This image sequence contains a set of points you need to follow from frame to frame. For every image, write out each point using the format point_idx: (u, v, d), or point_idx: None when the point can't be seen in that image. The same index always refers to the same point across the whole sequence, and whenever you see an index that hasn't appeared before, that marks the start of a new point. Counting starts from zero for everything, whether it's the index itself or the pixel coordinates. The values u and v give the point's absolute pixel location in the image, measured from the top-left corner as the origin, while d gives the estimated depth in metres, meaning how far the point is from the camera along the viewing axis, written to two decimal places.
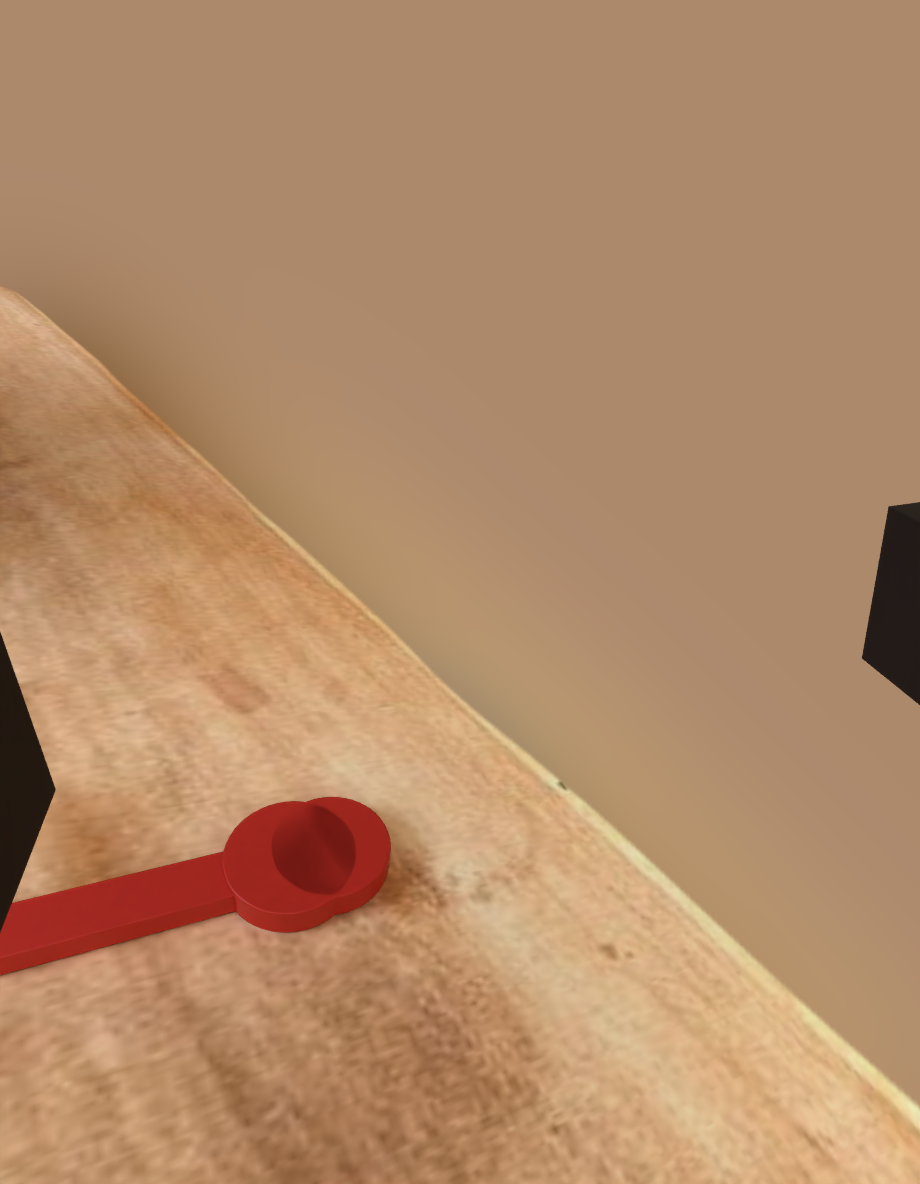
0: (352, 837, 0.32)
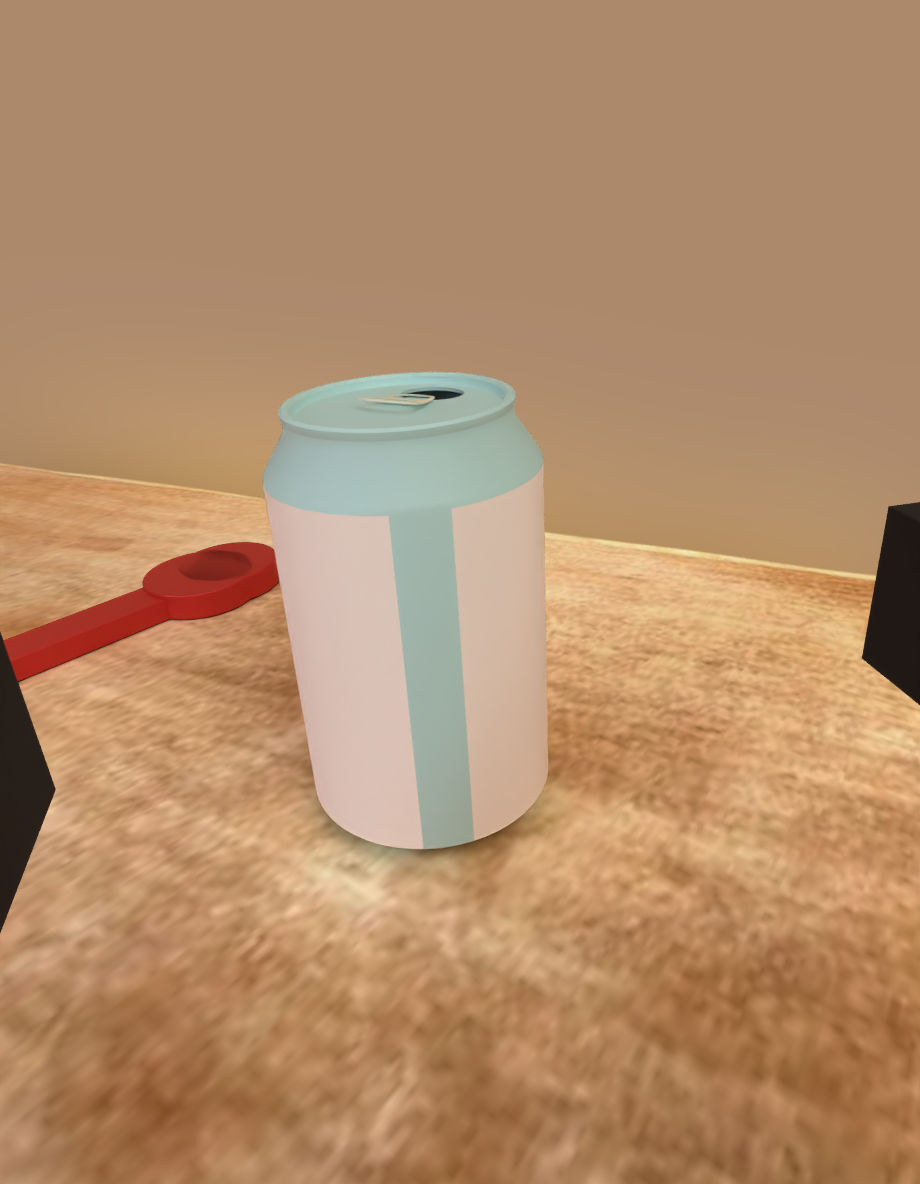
0: (242, 554, 0.40)
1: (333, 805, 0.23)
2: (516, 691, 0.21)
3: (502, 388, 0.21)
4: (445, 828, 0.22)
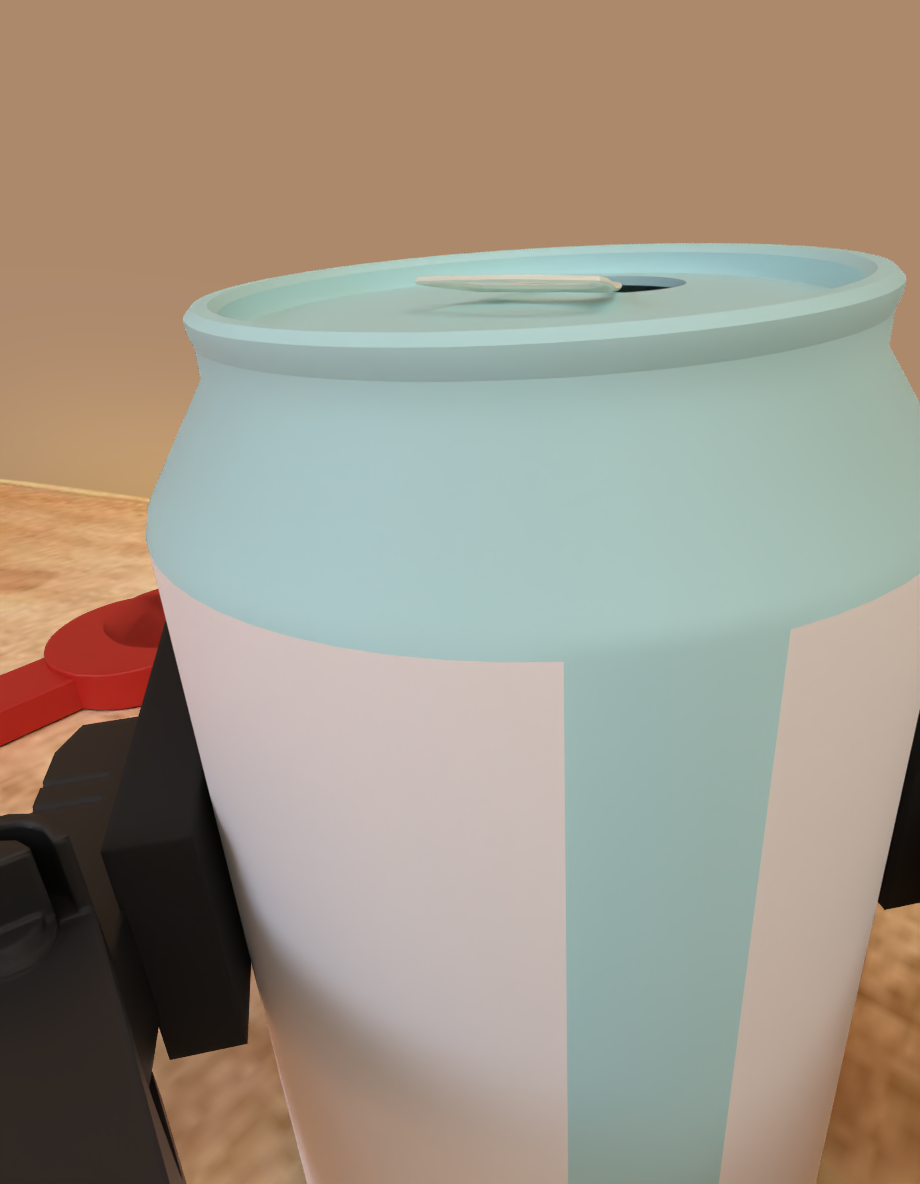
0: None
1: None
2: (831, 1067, 0.08)
3: (809, 256, 0.08)
4: None
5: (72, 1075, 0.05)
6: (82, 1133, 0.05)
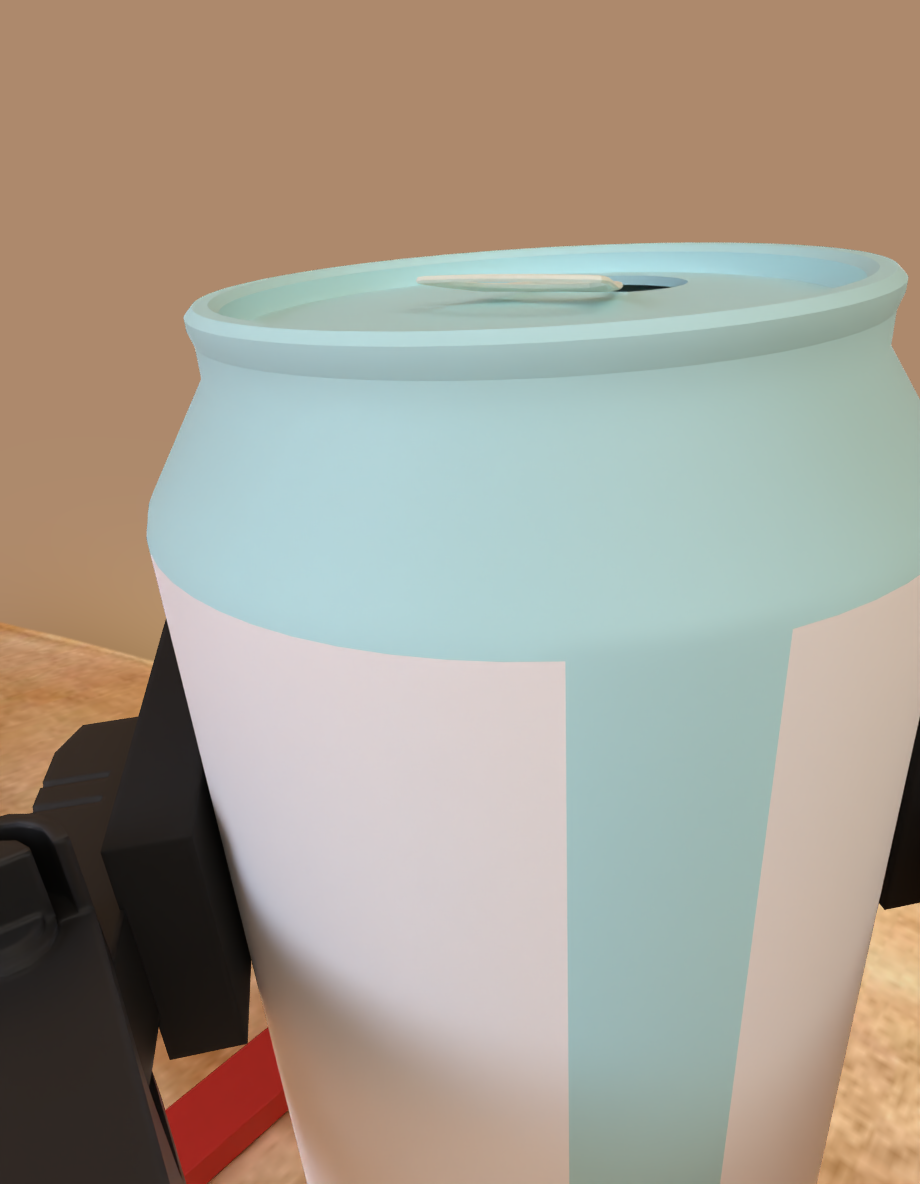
0: None
1: None
2: (832, 1067, 0.08)
3: (810, 256, 0.08)
4: None
5: (72, 1075, 0.05)
6: (82, 1133, 0.05)
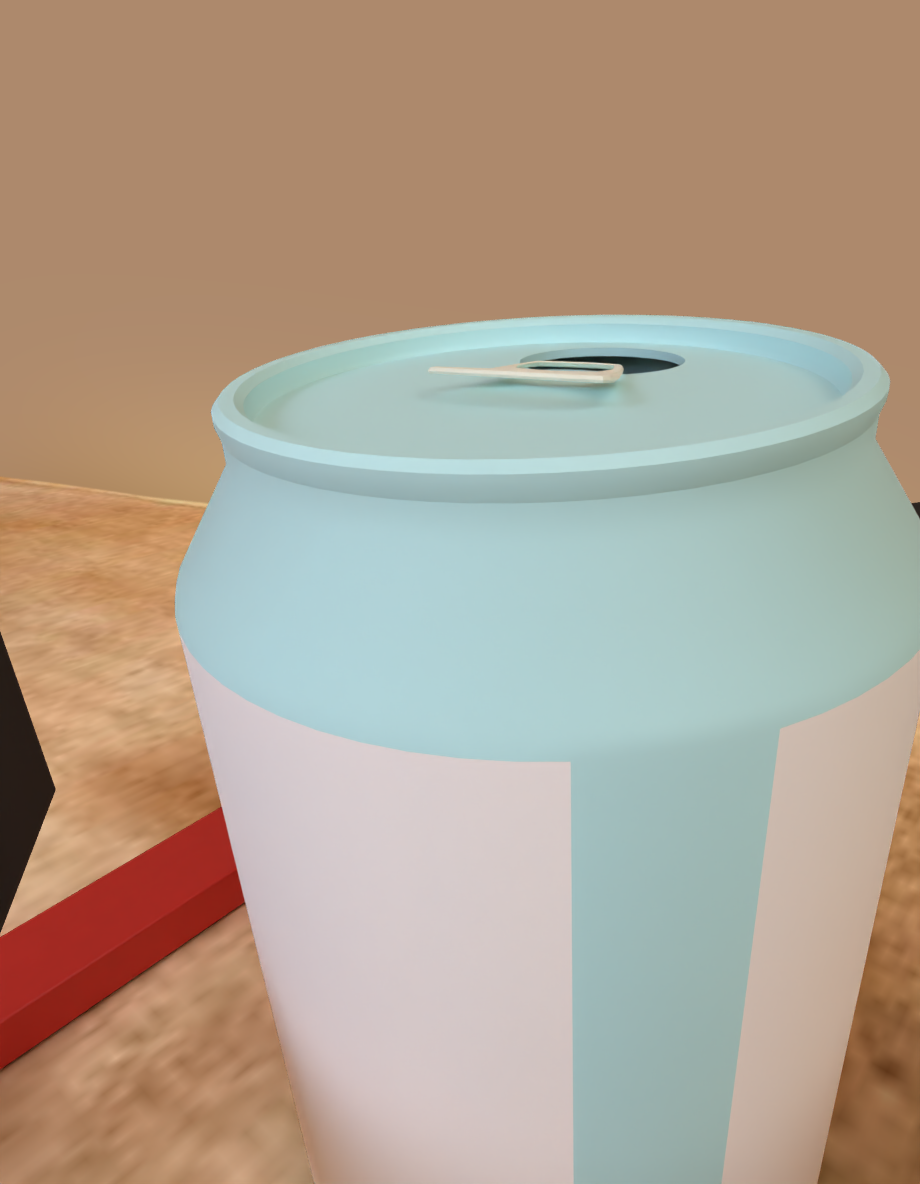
0: None
1: None
2: (824, 1108, 0.08)
3: (801, 341, 0.08)
4: None
5: None
6: None
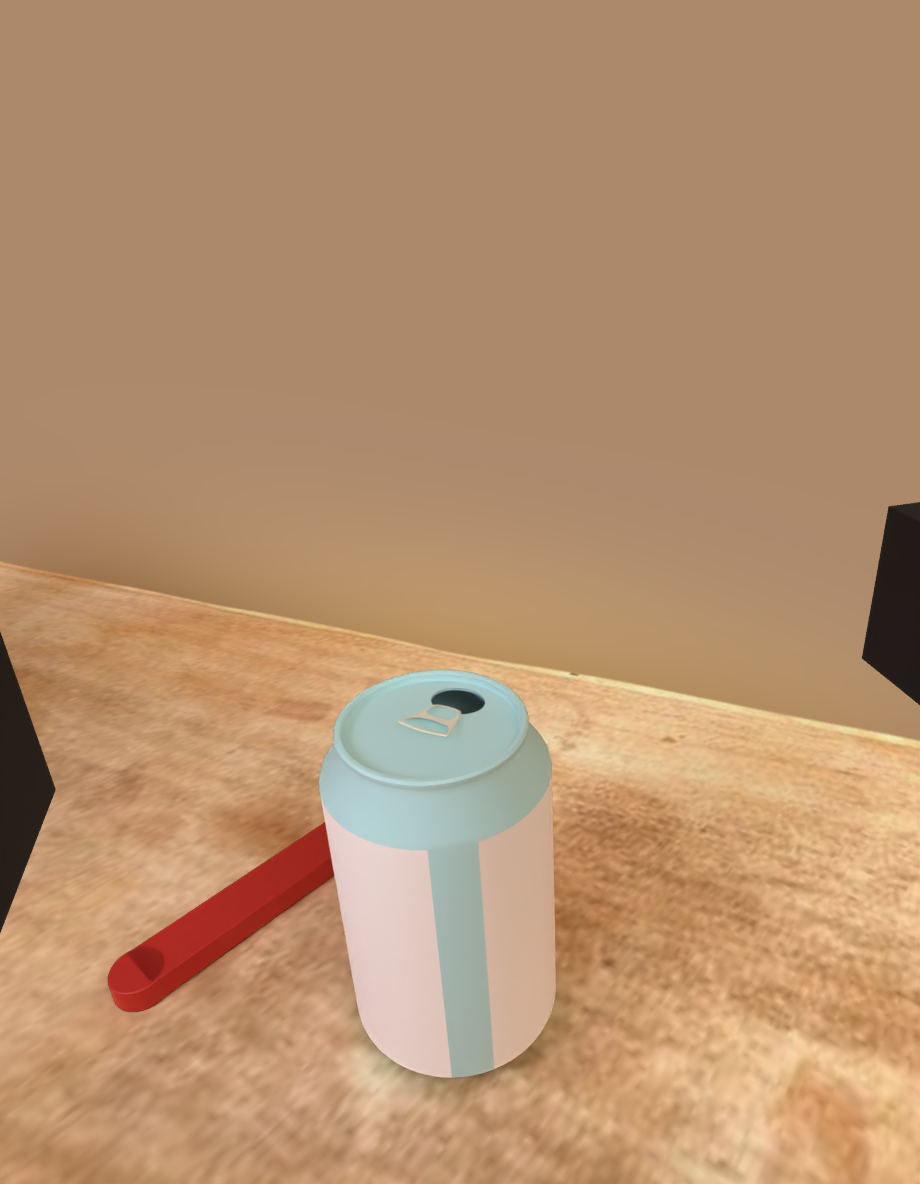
0: None
1: (374, 1034, 0.27)
2: (529, 953, 0.25)
3: (516, 706, 0.25)
4: (470, 1062, 0.26)
5: None
6: None
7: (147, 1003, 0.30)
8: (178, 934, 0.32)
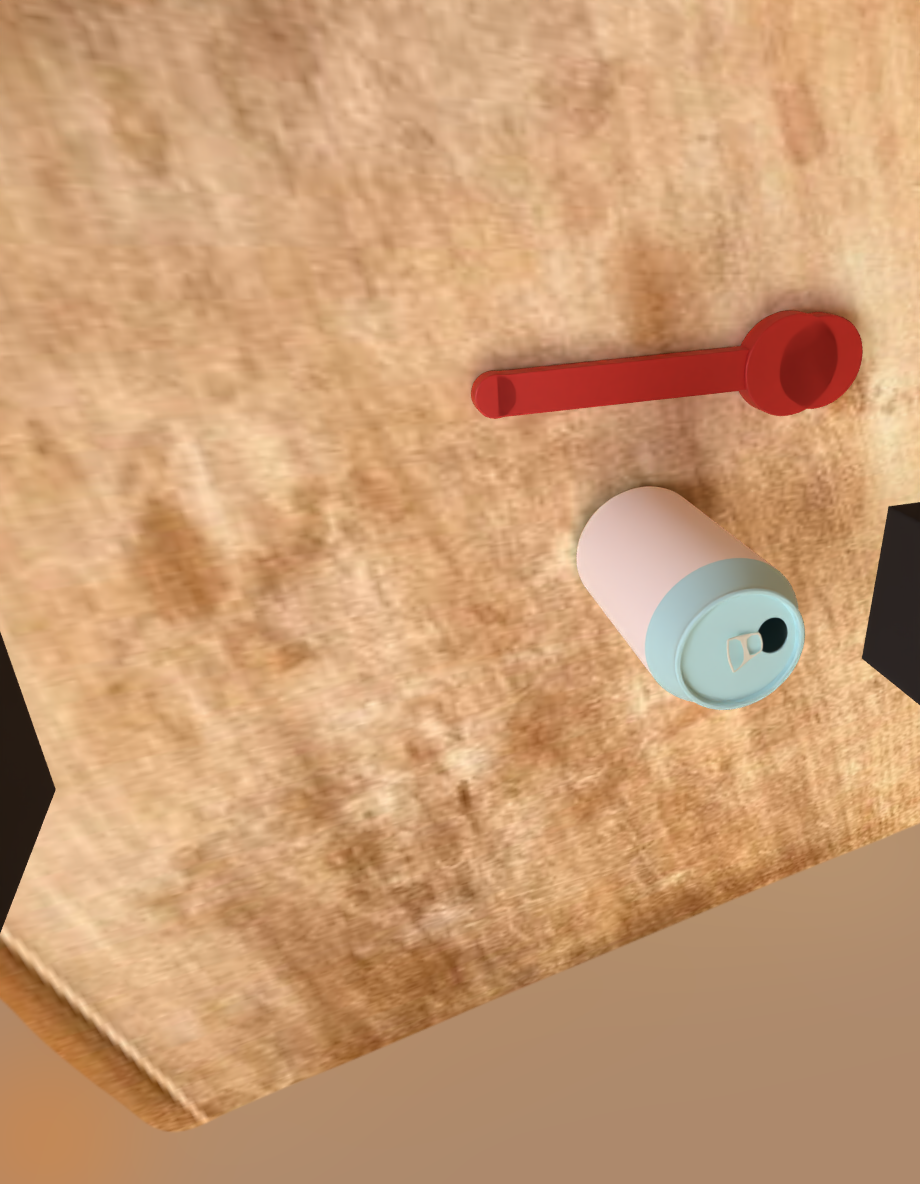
0: (836, 360, 0.41)
1: (580, 559, 0.43)
2: None
3: (784, 673, 0.36)
4: None
5: None
6: None
7: None
8: (534, 387, 0.39)
